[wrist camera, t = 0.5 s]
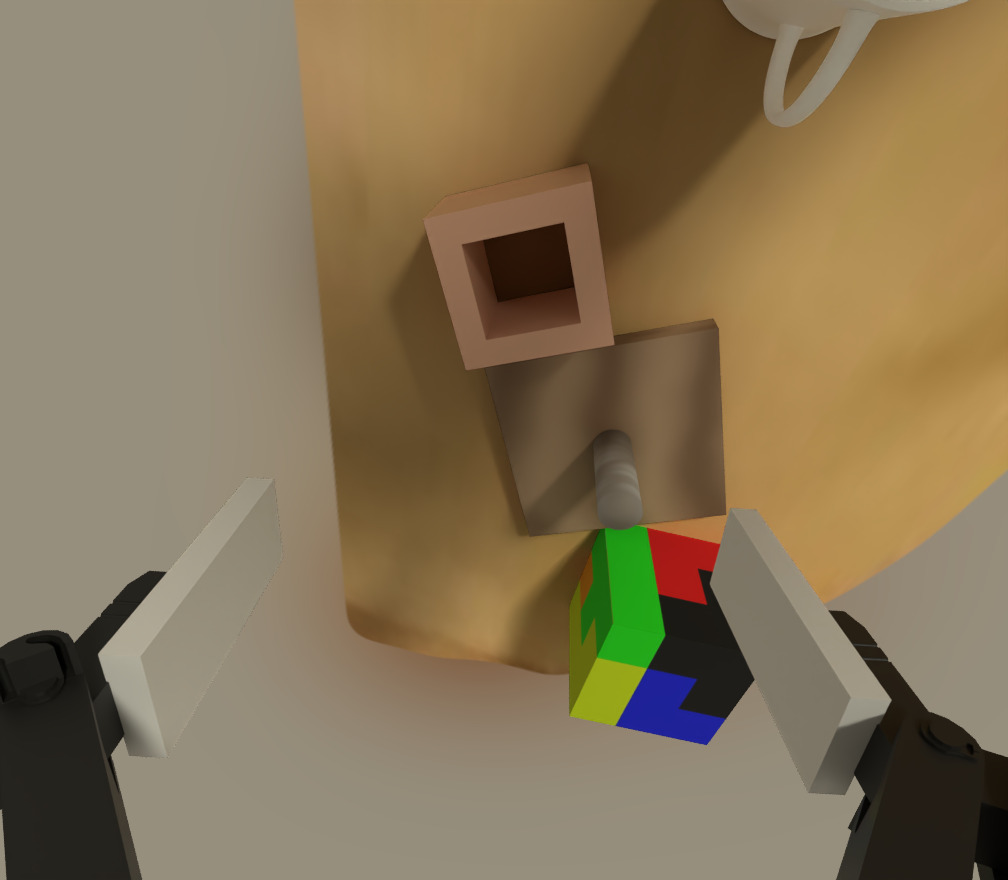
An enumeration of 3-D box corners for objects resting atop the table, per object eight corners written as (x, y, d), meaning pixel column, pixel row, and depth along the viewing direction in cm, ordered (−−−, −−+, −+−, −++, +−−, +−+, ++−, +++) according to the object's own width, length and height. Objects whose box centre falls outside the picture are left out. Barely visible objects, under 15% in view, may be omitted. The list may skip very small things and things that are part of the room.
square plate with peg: (712, 318, 35) (750, 382, 28) (721, 501, 42) (752, 589, 35) (487, 358, 38) (468, 425, 31) (530, 523, 45) (523, 609, 38)
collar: (587, 163, 31) (591, 180, 26) (607, 305, 35) (614, 344, 30) (445, 196, 33) (422, 219, 28) (479, 329, 37) (466, 370, 32)
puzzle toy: (683, 630, 50) (706, 745, 41) (569, 605, 49) (569, 715, 41) (731, 546, 44) (770, 658, 36) (604, 517, 44) (612, 623, 36)
